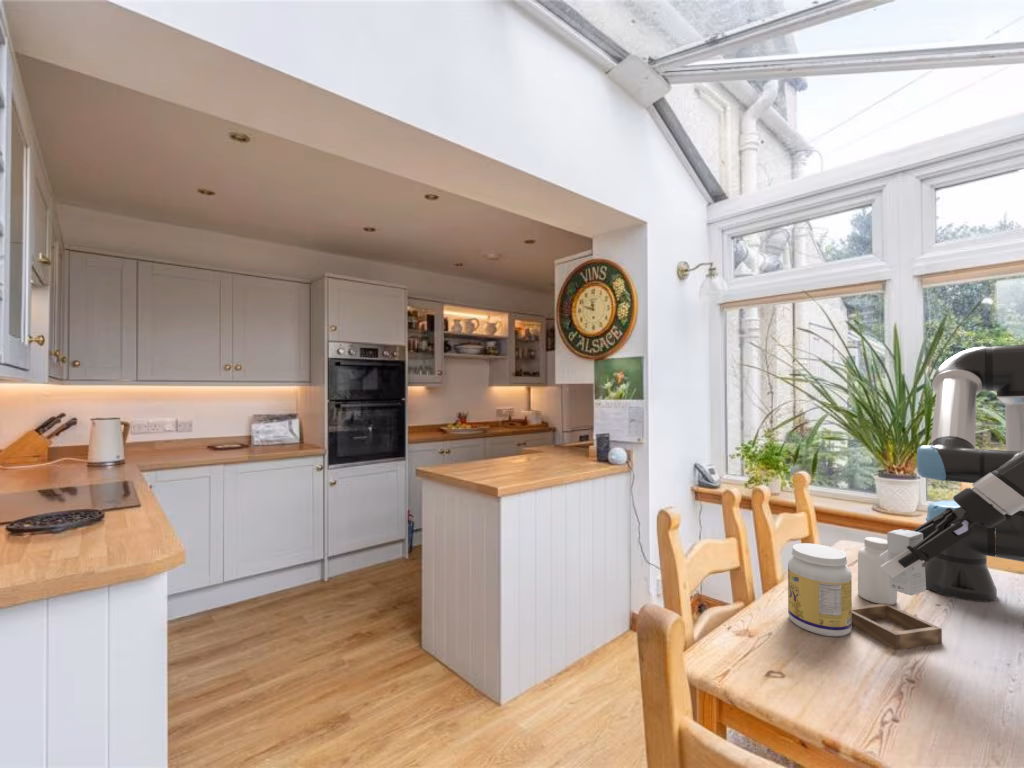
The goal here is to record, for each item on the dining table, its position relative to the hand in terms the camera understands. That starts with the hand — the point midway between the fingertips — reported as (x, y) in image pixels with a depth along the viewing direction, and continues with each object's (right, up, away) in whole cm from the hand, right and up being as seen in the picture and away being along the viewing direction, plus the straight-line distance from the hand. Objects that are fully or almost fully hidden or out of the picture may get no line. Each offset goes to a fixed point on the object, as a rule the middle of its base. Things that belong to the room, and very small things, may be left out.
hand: (885, 566), depth 103 cm
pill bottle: (+12, -15, +18) cm, 26 cm away
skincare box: (+3, -4, -2) cm, 6 cm away
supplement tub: (-11, -15, +5) cm, 20 cm away
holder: (+2, -15, +1) cm, 15 cm away
